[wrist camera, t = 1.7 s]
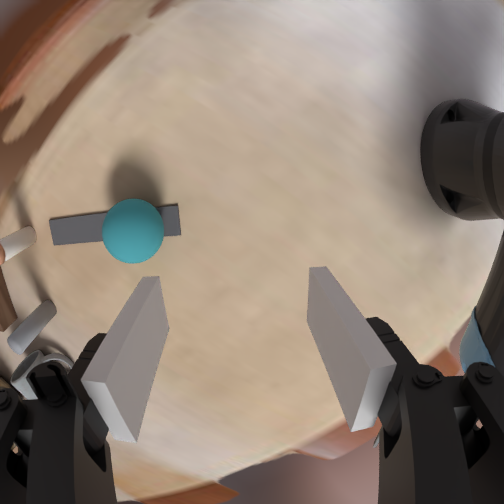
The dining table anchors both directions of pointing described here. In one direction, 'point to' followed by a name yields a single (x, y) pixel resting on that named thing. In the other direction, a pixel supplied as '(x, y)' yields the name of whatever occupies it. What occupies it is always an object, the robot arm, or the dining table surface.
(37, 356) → the ceramic mug
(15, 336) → the grey pin
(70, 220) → the grey flat bar
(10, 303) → the backstop
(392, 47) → the dining table surface
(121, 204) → the ball
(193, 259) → the dining table surface
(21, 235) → the white pin
